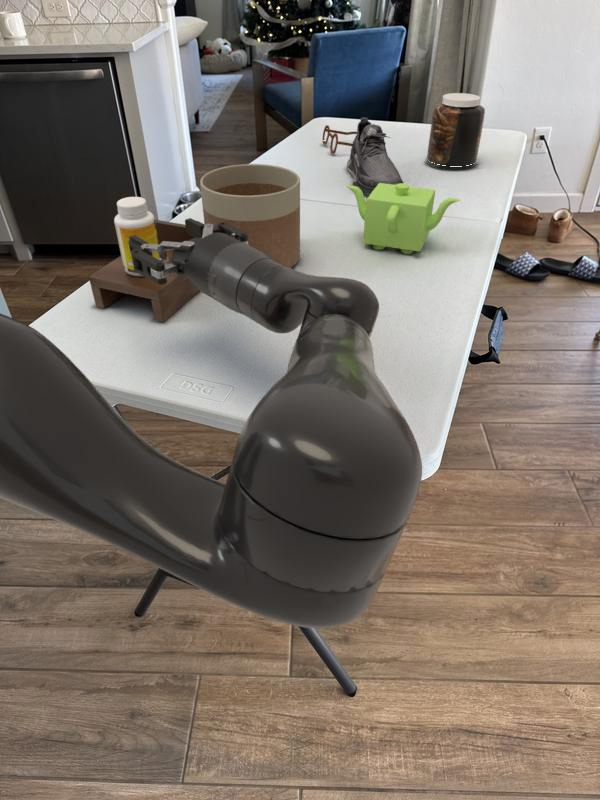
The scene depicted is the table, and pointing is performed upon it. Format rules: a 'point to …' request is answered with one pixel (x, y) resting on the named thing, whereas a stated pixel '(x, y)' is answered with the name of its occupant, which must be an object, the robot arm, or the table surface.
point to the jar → (456, 132)
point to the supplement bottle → (134, 228)
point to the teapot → (399, 215)
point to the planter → (257, 206)
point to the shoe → (371, 159)
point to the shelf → (146, 279)
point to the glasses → (336, 138)
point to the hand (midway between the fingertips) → (161, 234)
